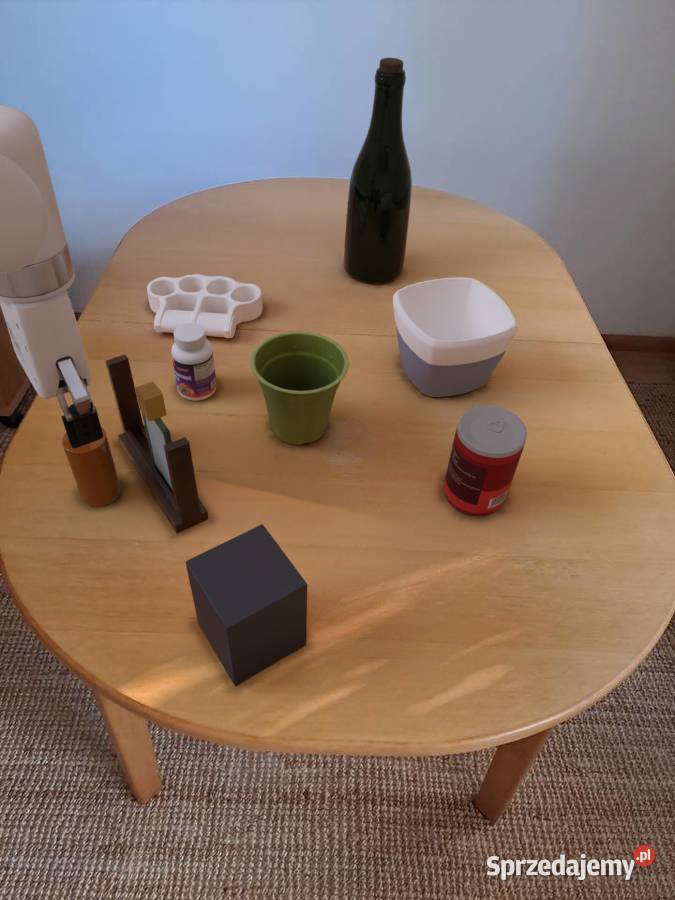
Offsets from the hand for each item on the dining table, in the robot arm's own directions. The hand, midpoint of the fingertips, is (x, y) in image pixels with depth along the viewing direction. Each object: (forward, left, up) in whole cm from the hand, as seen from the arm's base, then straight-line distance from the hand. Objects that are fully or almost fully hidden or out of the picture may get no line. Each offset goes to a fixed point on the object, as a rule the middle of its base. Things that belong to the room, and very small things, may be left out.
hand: (71, 414), depth 70 cm
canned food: (+38, -24, -13) cm, 47 cm away
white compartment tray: (+27, +27, -13) cm, 41 cm away
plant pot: (+26, -3, -13) cm, 30 cm away
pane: (+7, -4, -11) cm, 14 cm away
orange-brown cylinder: (+1, 0, -13) cm, 13 cm away
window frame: (+7, -2, -13) cm, 15 cm away
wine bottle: (+58, +24, -13) cm, 65 cm away
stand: (+6, -26, -13) cm, 30 cm away
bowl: (+50, -4, -13) cm, 52 cm away
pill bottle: (+18, +11, -13) cm, 25 cm away
